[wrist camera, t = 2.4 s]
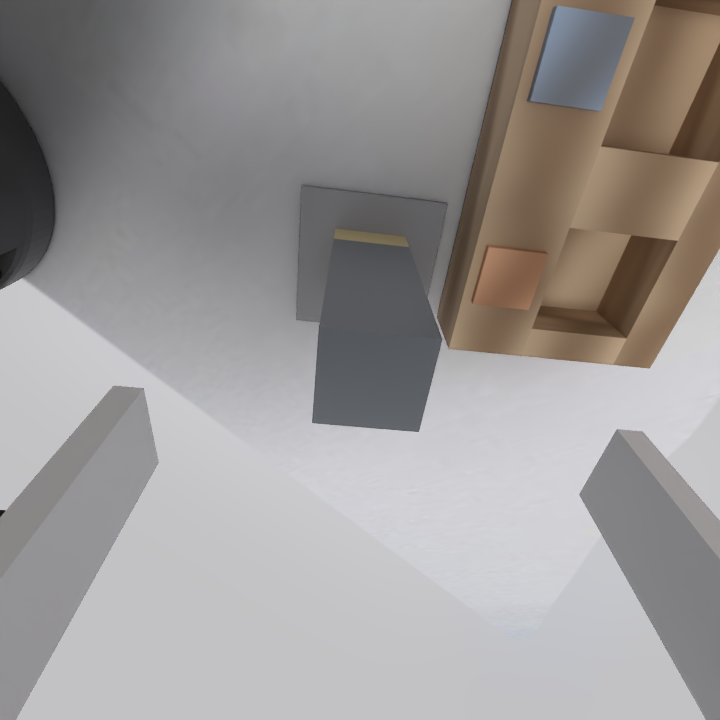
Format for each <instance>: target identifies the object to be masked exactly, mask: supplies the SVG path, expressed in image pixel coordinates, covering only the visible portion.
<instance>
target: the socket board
mask: <svg viewBox="0 0 720 720" xmlns="http://www.w3.org/2000/svg"><path fill="white" fill-rule="evenodd" d="M719 249H720V0H512V5H511V9H510V13H509V17H508V21H507V26H506V30H505V34H504V38H503V42H502V47H501V51H500V55H499V59H498V63H497V68H496V72H495V76H494V80H493V84H492V89H491V93H490V97H489V101H488V105H487V110H486V114H485V118H484V122H483V127H482V131H481V135H480V139H479V143H478V148H477V152H476V156H475V160H474V164H473V169H472V173H471V177H470V181H469V185H468V190H467V194H466V198H465V202H464V206H463V211H462V215H461V219H460V223H459V227H458V232H457V236H456V240H455V244H454V248H453V253H452V257H451V261H450V265H449V269H448V274H447V278H446V282H445V286H444V290H443V295H442V299H441V303H440V307H439V311H438V316H437V318H438V321H439V324H440V327H441V329H442V332H443V335H444V337H445V340H446V343H447V345H448V348H449V349H456V350H467V351H477V352H487V353H497V354H507V355H518V356H528V357H538V358H548V359H559V360H569V361H579V362H589V363H600V364H610V365H620V366H630V367H640V368H650V367H651V365H652V364H653V362H654V360H655V358H656V357H657V355H658V353H659V352H660V350H661V348H662V346H663V345H664V343H665V341H666V340H667V338H668V336H669V334H670V333H671V331H672V329H673V328H674V326H675V324H676V322H677V321H678V319H679V317H680V316H681V314H682V312H683V310H684V309H685V307H686V305H687V303H688V302H689V300H690V298H691V297H692V295H693V293H694V291H695V290H696V288H697V286H698V285H699V283H700V281H701V279H702V278H703V276H704V274H705V273H706V271H707V269H708V267H709V266H710V264H711V262H712V261H713V259H714V257H715V255H716V254H717V252H718V250H719Z"/></svg>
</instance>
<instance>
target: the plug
mask: <svg viewBox="0 0 720 720" xmlns="http://www.w3.org/2000/svg"><path fill="white" fill-rule="evenodd" d="M441 342H442V338H441V335H440V332H439V329H438V326H437V324H436V321H435V318H434V315H433V312H432V310H431V307H430V304H429V301H428V299H427V296H426V293H425V290H424V287H423V285H422V282H421V279H420V276H419V273H418V271H417V268H416V265H415V262H414V259H413V257H412V254H411V251H410V248H409V245H408V243H407V240H406V237H405V236H396V235H387V234H379V233H370V232H361V231H353V230H344V229H335V234H334V240H333V246H332V252H331V258H330V264H329V270H328V276H327V282H326V288H325V294H324V300H323V306H322V312H321V318H320V324H319V334H318V348H317V362H316V376H315V390H314V405H313V419H312V423H318V424H330V425H342V426H354V427H366V428H378V429H390V430H402V431H414V432H419V429H420V425H421V421H422V417H423V413H424V409H425V405H426V401H427V397H428V393H429V389H430V386H431V382H432V378H433V374H434V370H435V366H436V362H437V358H438V354H439V350H440V346H441Z"/></svg>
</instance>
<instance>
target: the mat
mask: <svg viewBox="0 0 720 720" xmlns="http://www.w3.org/2000/svg"><path fill="white" fill-rule="evenodd" d="M447 205H448V204H447V203H444V202H436V201H428V200H420V199H411V198H403V197H395V196H387V195H378V194H370V193H362V192H354V191H346V190H337V189H329V188H321V187H313V186H305V185H302V186H301V208H300V234H299V260H298V287H297V313H296V320H302V321H312V322H320V318H321V312H322V306H323V300H324V294H325V288H326V282H327V276H328V270H329V264H330V258H331V252H332V246H333V240H334V234H335V229H344V230H353V231H361V232H370V233H379V234H387V235H396V236H405V237H406V240H407V243H408V245H409V248H410V251H411V254H412V257H413V259H414V262H415V265H416V268H417V271H418V273H419V276H420V279H421V282H422V285H423V287H424V290H425V293H426V296H427V297H428V292H429V288H430V283H431V278H432V274H433V269H434V265H435V260H436V255H437V251H438V246H439V242H440V237H441V232H442V228H443V223H444V219H445V214H446V210H447Z"/></svg>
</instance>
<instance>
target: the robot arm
mask: <svg viewBox="0 0 720 720" xmlns="http://www.w3.org/2000/svg"><path fill="white" fill-rule="evenodd" d="M53 221H54V200H53V192H52V185H51V181H50V176H49V172H48V169H47V166H46V162H45V160H44V157H43V154H42V151H41V149H40V147H39V144H38V142H37V140H36V138H35V136H34V134H33V132H32V130H31V128H30V126H29V124H28V122H27V120H26V119H25V117H24V115H23V113H22V112H21V110H20V109H19V107H18V105H17V104H16V102H15V101H14V99H13V98H12V96H11V95H10V94H9V92H8V91H7V89H6V88H5V87H4V85H3V84H2V83H1V82H0V289H2V288H4V287H6V286H8V285H10V284H12V283H14V282H16V281H17V280H19V279H21V278H22V277H24V276H25V275H26V274H28V273H29V272H30V271H31V270H32V269H33V268H34V267H35V266H36V265H37V264H38V262H39V261H40V259H41V258H42V256H43V255H44V253H45V251H46V249H47V246H48V244H49V241H50V238H51V234H52V229H53ZM157 465H158V458H157V453H156V448H155V443H154V438H153V433H152V428H151V423H150V418H149V413H148V408H147V403H146V398H145V393H144V388H134V387H122V386H113V387H112V389H111V390H110V391H109V392H108V393H107V394H106V396H105V397H104V398H103V399H102V400H101V401H100V402H99V404H98V405H97V406H96V407H95V408H94V409H93V410H92V412H91V413H90V414H89V415H88V416H87V417H86V419H85V420H84V421H83V422H82V423H81V424H80V426H79V427H78V428H77V429H76V430H75V431H74V433H73V434H72V435H71V436H70V437H69V438H68V439H67V441H66V442H65V443H64V444H63V445H62V446H61V448H60V449H59V450H58V451H57V452H56V453H55V454H54V456H53V457H52V458H51V459H50V460H49V461H48V463H47V464H46V465H45V466H44V467H43V468H42V470H41V471H40V472H39V473H38V474H37V475H36V476H35V478H34V479H33V480H32V481H31V482H30V483H29V485H28V486H27V487H26V488H25V489H24V490H23V492H22V493H21V494H20V495H19V496H18V497H17V498H16V500H15V501H14V502H13V503H12V504H11V505H10V507H9V508H8V509H7V510H6V511H5V510H0V720H16V718H17V717H18V715H19V713H20V711H21V710H22V708H23V706H24V704H25V702H26V701H27V699H28V697H29V695H30V693H31V692H32V690H33V688H34V686H35V684H36V682H37V680H38V679H39V677H40V675H41V673H42V672H43V670H44V668H45V666H46V665H47V663H48V661H49V659H50V657H51V656H52V654H53V652H54V650H55V648H56V647H57V645H58V643H59V641H60V639H61V638H62V636H63V634H64V632H65V630H66V628H67V627H68V625H69V623H70V621H71V619H72V618H73V616H74V614H75V612H76V610H77V609H78V607H79V605H80V603H81V601H82V600H83V598H84V596H85V594H86V592H87V591H88V589H89V587H90V585H91V583H92V582H93V580H94V578H95V576H96V574H97V573H98V571H99V569H100V567H101V565H102V564H103V562H104V560H105V558H106V556H107V555H108V553H109V551H110V549H111V547H112V545H113V544H114V542H115V540H116V538H117V537H118V535H119V533H120V531H121V529H122V528H123V526H124V524H125V522H126V520H127V518H128V517H129V515H130V513H131V511H132V510H133V508H134V506H135V504H136V502H137V501H138V499H139V497H140V495H141V493H142V491H143V489H144V488H145V486H146V484H147V482H148V480H149V479H150V477H151V475H152V473H153V472H154V470H155V468H156V466H157ZM579 495H580V497H581V499H582V500H583V502H584V504H585V506H586V508H587V509H588V511H589V513H590V515H591V516H592V518H593V520H594V522H595V524H596V525H597V527H598V529H599V531H600V532H601V534H602V536H603V538H604V540H605V541H606V543H607V545H608V546H609V548H610V550H611V552H612V554H613V555H614V557H615V559H616V561H617V563H618V564H619V566H620V568H621V570H622V571H623V573H624V575H625V577H626V578H627V580H628V582H629V584H630V586H631V587H632V589H633V591H634V593H635V594H636V596H637V598H638V600H639V602H640V603H641V605H642V607H643V609H644V611H645V612H646V614H647V616H648V618H649V619H650V621H651V623H652V625H653V627H654V628H655V630H656V632H657V634H658V635H659V637H660V639H661V640H662V643H663V644H664V646H665V648H666V650H667V651H668V653H669V655H670V657H671V658H672V660H673V662H674V664H675V666H676V667H677V669H678V671H679V673H680V674H681V676H682V678H683V680H684V681H685V683H686V685H687V687H688V689H689V690H690V692H691V694H692V696H693V698H694V699H695V701H696V703H697V705H698V706H699V708H700V710H701V712H702V713H703V715H704V717H705V719H706V720H720V521H719V519H718V518H717V517H716V516H715V515H714V514H713V513H712V511H711V510H710V509H709V508H708V507H707V506H706V504H705V503H704V502H703V501H702V500H701V499H700V497H699V496H698V495H697V494H696V493H695V492H694V491H693V489H692V488H691V487H690V486H689V485H688V484H687V482H686V481H685V480H684V479H683V478H682V477H681V475H680V474H679V473H678V472H677V471H676V470H675V469H674V467H673V466H672V465H671V464H670V463H669V462H668V461H667V459H666V458H665V457H664V456H663V455H662V453H661V452H660V451H659V450H658V449H657V448H656V447H655V445H654V444H653V443H652V442H651V441H650V440H649V438H648V437H647V436H646V435H645V434H644V433H643V432H642V431H630V430H619V429H617V430H616V432H615V434H614V435H613V437H612V439H611V440H610V442H609V444H608V446H607V447H606V449H605V451H604V453H603V454H602V456H601V458H600V459H599V461H598V463H597V465H596V466H595V468H594V470H593V472H592V473H591V475H590V477H589V478H588V480H587V482H586V484H585V485H584V487H583V489H582V491H581V492H580V494H579Z"/></svg>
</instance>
